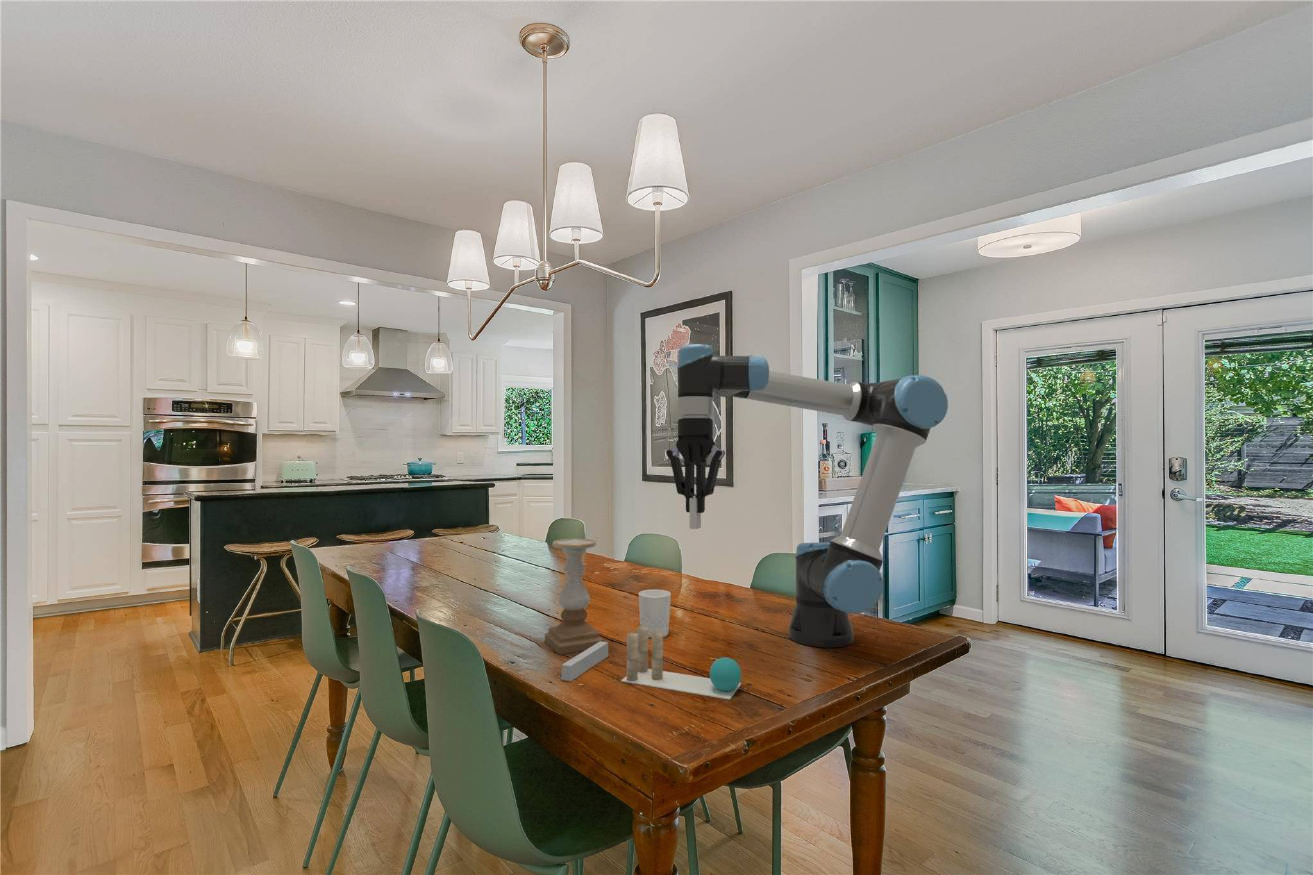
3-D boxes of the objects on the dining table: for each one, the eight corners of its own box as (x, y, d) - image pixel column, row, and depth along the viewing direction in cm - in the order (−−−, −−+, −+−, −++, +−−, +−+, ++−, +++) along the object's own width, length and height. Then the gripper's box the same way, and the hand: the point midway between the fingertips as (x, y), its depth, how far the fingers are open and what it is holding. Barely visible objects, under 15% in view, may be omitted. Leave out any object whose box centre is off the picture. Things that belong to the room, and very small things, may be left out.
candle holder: (558, 655, 137) (559, 546, 137) (543, 641, 146) (544, 539, 147) (604, 647, 142) (605, 543, 142) (587, 634, 152) (588, 536, 152)
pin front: (664, 677, 124) (664, 632, 124) (660, 681, 122) (660, 635, 122) (654, 676, 124) (654, 631, 125) (649, 680, 122) (650, 634, 123)
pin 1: (639, 678, 123) (639, 633, 123) (634, 682, 121) (635, 636, 121) (629, 677, 124) (629, 631, 124) (624, 681, 122) (624, 635, 122)
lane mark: (741, 684, 120) (741, 683, 120) (729, 699, 113) (729, 698, 113) (637, 668, 129) (637, 667, 129) (621, 681, 122) (621, 680, 122)
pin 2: (649, 670, 128) (649, 626, 128) (645, 674, 126) (645, 629, 126) (639, 669, 128) (640, 625, 129) (635, 672, 126) (635, 628, 126)
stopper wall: (608, 656, 136) (608, 642, 136) (570, 681, 121) (570, 666, 121) (600, 654, 137) (600, 641, 137) (561, 679, 122) (561, 664, 122)
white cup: (671, 629, 156) (672, 589, 156) (669, 639, 148) (669, 597, 148) (640, 628, 157) (640, 589, 157) (636, 638, 149) (636, 596, 149)
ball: (744, 686, 119) (745, 655, 119) (736, 698, 114) (736, 665, 114) (714, 682, 121) (715, 651, 122) (705, 693, 116) (705, 661, 116)
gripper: (730, 417, 134) (730, 527, 133) (674, 419, 139) (674, 524, 139) (717, 416, 127) (717, 532, 126) (660, 417, 132) (660, 528, 132)
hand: (695, 528), depth 133 cm, fingers closed
